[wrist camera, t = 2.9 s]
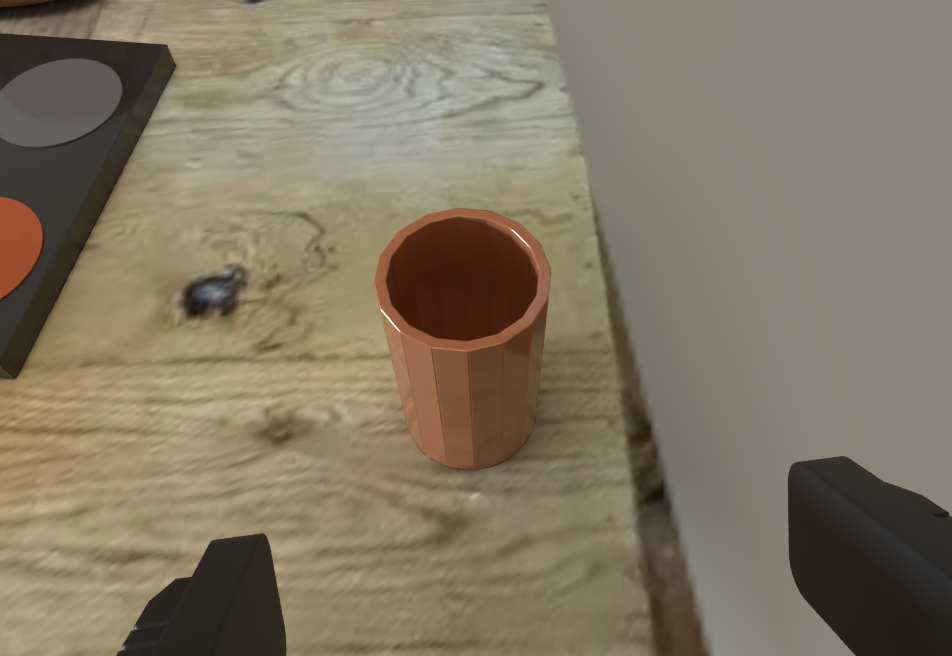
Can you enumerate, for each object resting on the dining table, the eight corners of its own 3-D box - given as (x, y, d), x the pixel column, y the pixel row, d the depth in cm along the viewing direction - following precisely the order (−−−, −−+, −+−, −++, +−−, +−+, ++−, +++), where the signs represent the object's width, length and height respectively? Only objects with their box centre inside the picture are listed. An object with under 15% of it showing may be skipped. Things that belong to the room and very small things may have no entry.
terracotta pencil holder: (541, 358, 35) (556, 215, 26) (529, 477, 32) (542, 359, 23) (416, 345, 35) (392, 202, 27) (394, 461, 32) (358, 340, 24)
